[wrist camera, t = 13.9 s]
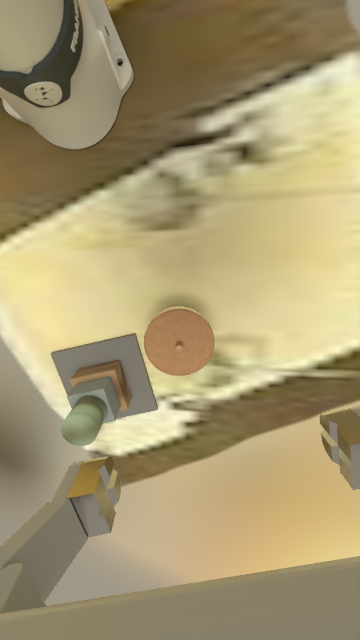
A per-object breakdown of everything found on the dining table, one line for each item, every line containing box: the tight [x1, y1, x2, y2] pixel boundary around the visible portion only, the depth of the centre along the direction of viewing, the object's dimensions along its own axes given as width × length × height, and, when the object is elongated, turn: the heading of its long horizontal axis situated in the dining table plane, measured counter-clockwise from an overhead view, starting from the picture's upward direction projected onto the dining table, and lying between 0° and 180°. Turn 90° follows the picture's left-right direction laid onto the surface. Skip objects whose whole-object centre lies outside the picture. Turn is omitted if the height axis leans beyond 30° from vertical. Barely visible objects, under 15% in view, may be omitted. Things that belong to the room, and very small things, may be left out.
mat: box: [51, 334, 158, 418], centre depth 48 cm, size 16×16×1 cm
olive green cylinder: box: [61, 395, 107, 446], centre depth 37 cm, size 5×5×5 cm
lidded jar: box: [144, 306, 214, 376], centre depth 41 cm, size 11×11×9 cm
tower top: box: [67, 376, 121, 423], centre depth 41 cm, size 6×6×4 cm
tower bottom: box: [69, 360, 132, 411], centre depth 45 cm, size 8×8×4 cm
